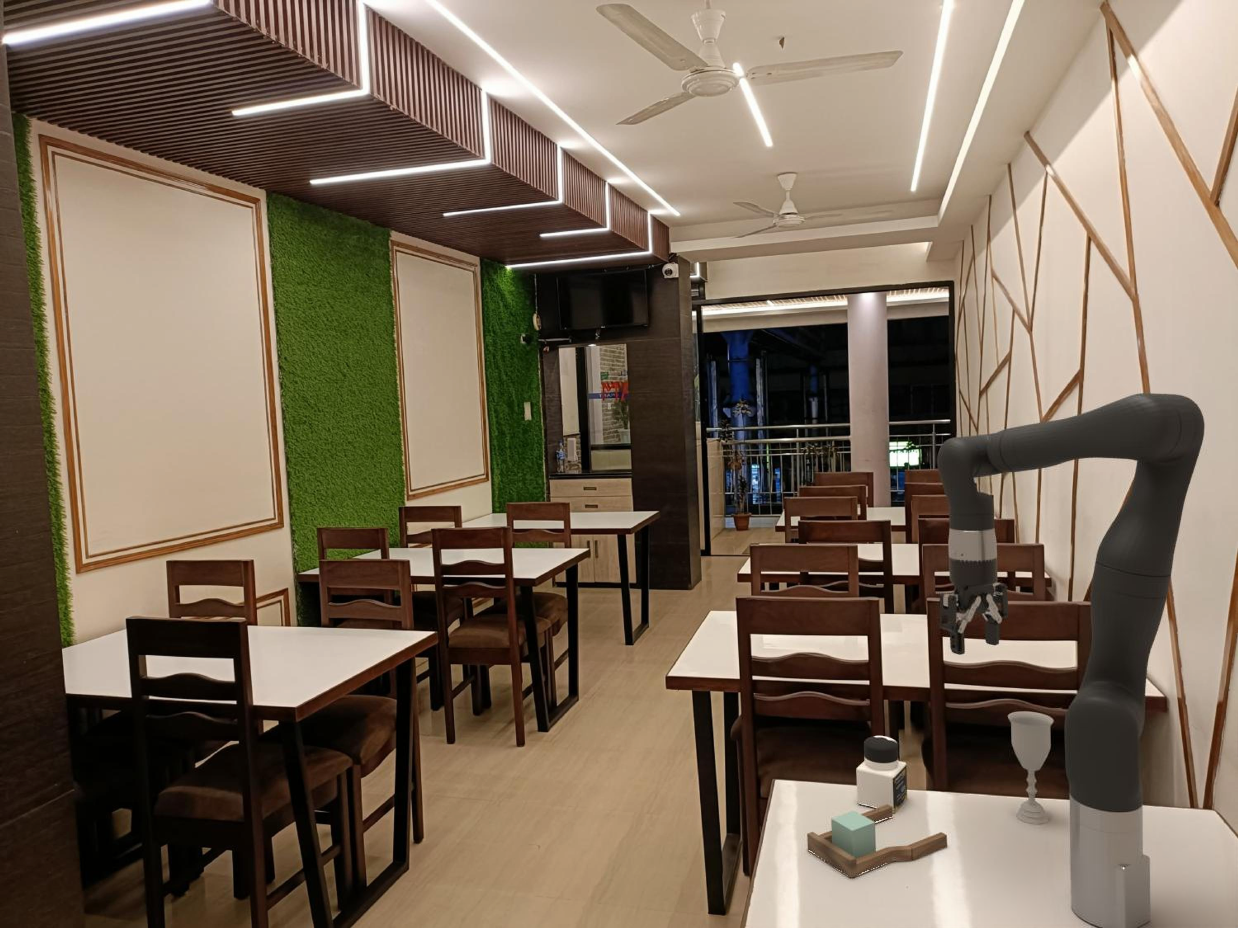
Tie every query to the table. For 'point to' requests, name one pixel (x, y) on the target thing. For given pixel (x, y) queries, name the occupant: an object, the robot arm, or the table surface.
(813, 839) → the keyhole rail
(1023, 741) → the chalice
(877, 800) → the medicine bottle
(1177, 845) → the table surface
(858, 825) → the teal block
